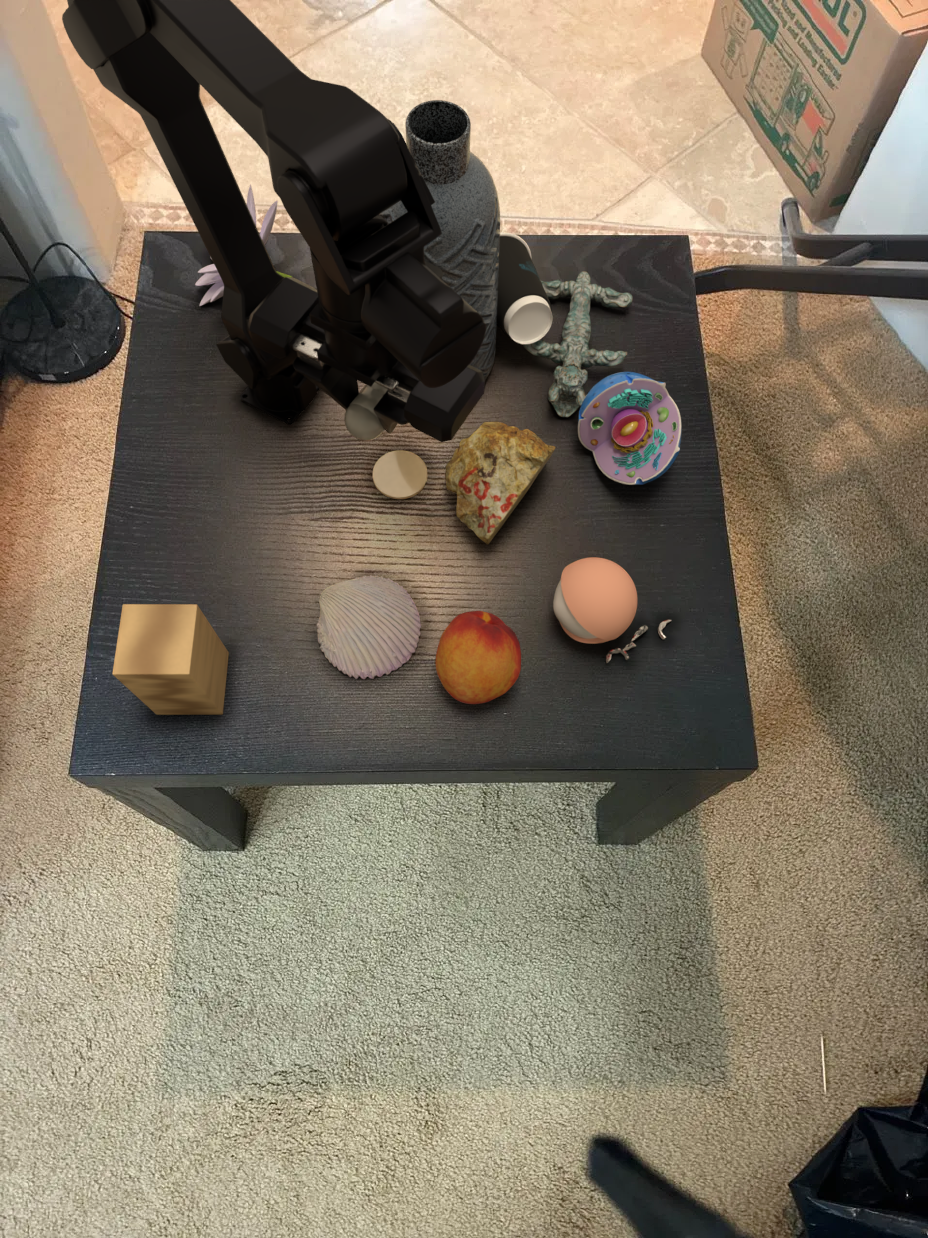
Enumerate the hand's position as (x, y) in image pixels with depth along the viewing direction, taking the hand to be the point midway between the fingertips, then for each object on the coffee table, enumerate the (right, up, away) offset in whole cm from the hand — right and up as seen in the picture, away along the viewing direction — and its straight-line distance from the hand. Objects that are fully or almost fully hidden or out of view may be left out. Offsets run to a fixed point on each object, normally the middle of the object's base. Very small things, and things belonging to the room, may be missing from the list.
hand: (372, 419), depth 76 cm
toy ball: (+20, -17, +7) cm, 27 cm away
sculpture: (+20, +12, +19) cm, 30 cm away
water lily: (-11, +20, +22) cm, 32 cm away
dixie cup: (+15, +12, +12) cm, 23 cm away
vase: (+5, +11, +18) cm, 22 cm away
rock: (+10, -5, +12) cm, 17 cm away
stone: (0, 0, +1) cm, 1 cm away
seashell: (-1, -18, +6) cm, 19 cm away
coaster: (+1, -3, +13) cm, 13 cm away
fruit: (+9, -22, +5) cm, 25 cm away
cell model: (+28, 0, +13) cm, 30 cm away
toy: (+25, -21, +6) cm, 33 cm away
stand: (-17, -23, +4) cm, 29 cm away
